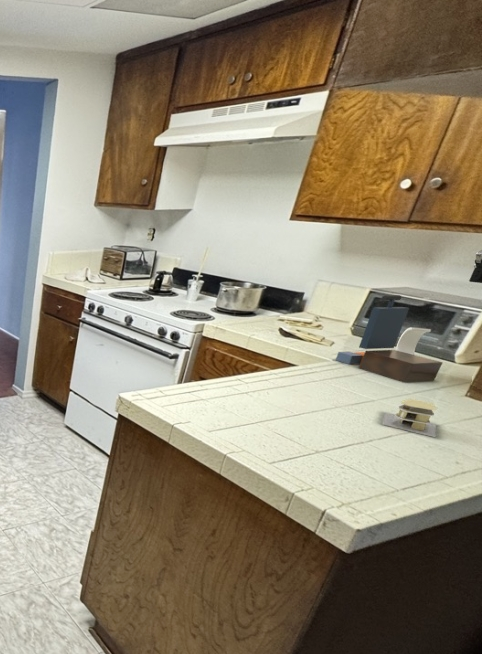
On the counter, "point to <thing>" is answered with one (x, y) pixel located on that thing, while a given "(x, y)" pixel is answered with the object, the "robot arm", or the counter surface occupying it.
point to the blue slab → (384, 325)
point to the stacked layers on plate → (413, 417)
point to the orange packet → (360, 354)
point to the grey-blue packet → (349, 357)
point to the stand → (400, 365)
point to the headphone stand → (410, 339)
